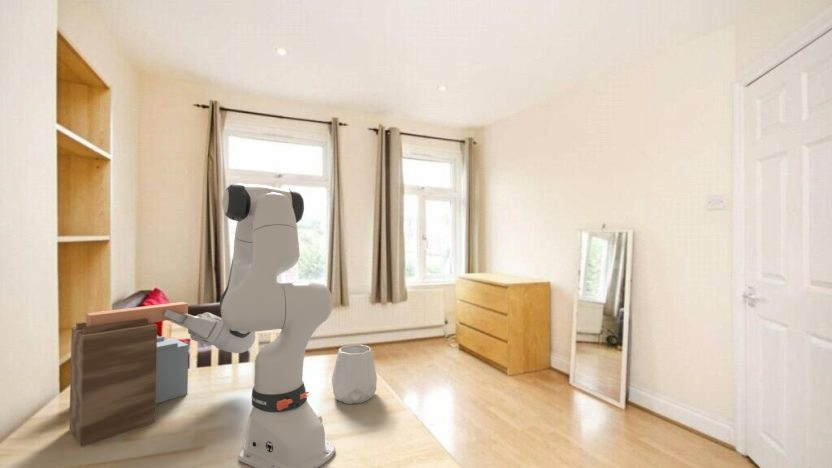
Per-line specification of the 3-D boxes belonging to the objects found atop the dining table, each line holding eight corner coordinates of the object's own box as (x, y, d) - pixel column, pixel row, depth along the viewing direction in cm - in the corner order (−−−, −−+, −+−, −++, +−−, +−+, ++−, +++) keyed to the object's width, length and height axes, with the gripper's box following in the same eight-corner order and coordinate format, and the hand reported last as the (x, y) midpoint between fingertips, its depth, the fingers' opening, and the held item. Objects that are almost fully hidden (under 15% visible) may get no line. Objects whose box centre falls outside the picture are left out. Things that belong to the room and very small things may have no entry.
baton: (187, 317, 109) (188, 303, 109) (90, 331, 91) (90, 315, 91) (182, 315, 111) (182, 301, 111) (85, 329, 94) (86, 313, 94)
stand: (155, 421, 99) (157, 319, 99) (80, 446, 87) (83, 330, 87) (139, 408, 107) (141, 312, 107) (69, 429, 95) (71, 321, 95)
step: (187, 394, 117) (188, 341, 117) (145, 406, 108) (147, 349, 108) (172, 384, 124) (173, 334, 124) (132, 395, 115) (133, 341, 115)
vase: (331, 408, 109) (332, 357, 109) (331, 389, 123) (332, 343, 123) (379, 404, 112) (380, 354, 112) (373, 386, 126) (374, 341, 126)
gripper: (196, 313, 122) (154, 296, 113) (226, 323, 110) (181, 305, 100) (185, 331, 120) (141, 316, 110) (214, 344, 107) (168, 327, 98)
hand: (160, 311), depth 105 cm, fingers closed on baton, 4 cm apart
